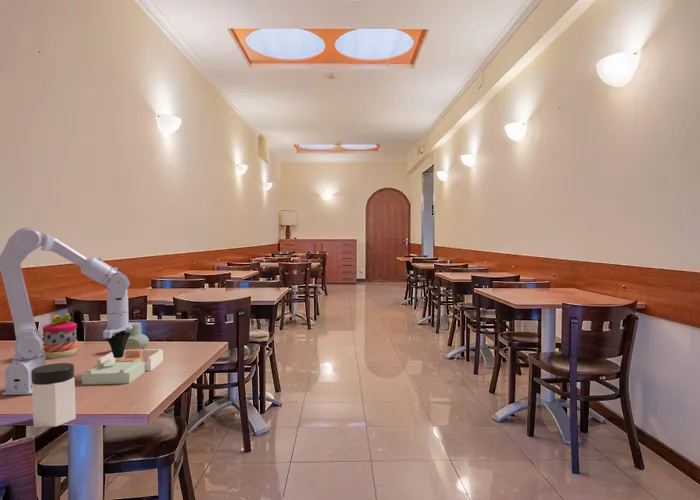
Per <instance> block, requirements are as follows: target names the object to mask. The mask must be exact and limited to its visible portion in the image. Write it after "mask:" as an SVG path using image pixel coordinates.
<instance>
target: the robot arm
mask: <svg viewBox="0 0 700 500" xmlns="http://www.w3.org/2000/svg"><path fill="white" fill-rule="evenodd" d="M40 247H41V248H40ZM38 248H40V251H45V252H53V253H54V254H57V255H59V256H60V257H62V258H64V259H65V260H67V261H70V262H71V263H72V264H73V263H74V264H75V265H77V266H79V268H80V273H81V274H83V275H85V276H86V277H88V278H90V279H91V280H93V281H95V282H97V283H98V284H101V285H105V287H106V288H107V296H106V318H107V319H106V325H107V326H106V329H105V330H103V331H102V338H103V339H106V342H108V344H109V345H110V348H111V352H112V353H113V356H114V358H121V357H123V354H124V350H125V346H126V342H127V340H128V338H129V336H130V332H125V330H128V329H132V328H133V326H132V325H131V323H132V322H129V296H128V293H129V291H128V288H129V286H130V284H131V282H130V281H129V278H128V276H127V275H125V273H123V272H121V271H119V270H118V268H117V267H115V266H114V267H112V266H111V265H109V264H107V263H106V262H105V261H104V259H103V258H102V257H96V256H89V257H87V256H85V255H83V254H81V253H80V252H78V251H77V250H75V249H74V248H72V247H71V246H69V245H67V244H66V243H64V242H62V241H61V240H59V239H58V238H56V237H53V236H51V235H49V234H46V233H44V232H41V233H40V231H39V230H37V229H36V228H33V227H27V226H25V227H21V228H19V229H18V230H16V232H14V233H13V234H12V235H11V236H10V237H9V238H8V240H7V242H6V243H5V246H4V248H3V249H2V252H1V254H0V274H1V278H2V283H3V285H4V286H3V287H4V290H5V295H6V299H7V302H8V306H9V310H10V315H11V318H12V322H13V326H14V327H13V328H14V334H15V343H14V344H13V345H14V346H13V348H14V352H15V354H14V355H13V357H12V358H13V359H12V362H11V363H10V364H8V366H7V367H6V368H5V371H4V376H5V377H4V378H5V380H4V381H5V385H4V387H5V391H4V392H2V396H14V395H15V396H16V395H19V396H20V395H32V381H31V371H32V370H33V369H34V368H37V367H40V366H44V365H47V364H46V358H45V352H44V350H43V348H44V346H43V344H44V341H43V337H44V336H43V333H41V332H40V331H39V330H38V329H37V325H36V322H35V318H34V315H33V311H32V306H31V303H30V302H31V301H30V299H29V295H28V291H27V286H26V283H25V282H26V281H25V277H24V274H23V270H22V265H21V264H22V263H23V262H24V260H25V259H26V258H27V257H28V255H29V254H31V253H32V252H33V251H35V250H37V249H38Z"/></svg>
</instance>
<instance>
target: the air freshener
mask: <svg viewBox="0 0 700 500" xmlns="http://www.w3.org/2000/svg"><path fill="white" fill-rule="evenodd" d="M130 323H131V325H132V326H133V328H132V329H128V330H125V332H130V336H129V338H128V340H127V342H126V346H125V350H128V349H143V350H145V348H147V346H148V345H149V343H150V339H149V337H148V336H147V335H146V334H143V333H142V324H141V322H138V321H135V322H130Z"/></svg>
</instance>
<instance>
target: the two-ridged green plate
mask: <svg viewBox="0 0 700 500" xmlns="http://www.w3.org/2000/svg"><path fill="white" fill-rule="evenodd" d="M145 372H147V371H146V362H141V359H136V360H135V361H133V362H111V360H106V361H104V362H102V363H100V364H98V365H95V366H93V367H91V368H89V369H88V370H87V371H85V372H82V373H81V385H84V386H85V385H108V384H109V385H111V384H113V385H114V384H115V385H116V384H120V385H121V384H131V383H132V382H133V381H135V380H136V379H137V378H139V377H140V376H141V375H143V374H145Z"/></svg>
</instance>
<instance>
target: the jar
mask: <svg viewBox="0 0 700 500" xmlns="http://www.w3.org/2000/svg"><path fill="white" fill-rule="evenodd" d="M31 381H32V394H31V396H32V424H33V428H35V429H37V428H55V427H59V426H61V425H64V424H66V423H69V422H71V421H75V419H76V385H75V383H76V382H75V381H76V380H75V365H74V364H73V363H72V362H71V363H70V362H61V363H60V362H59V363H56V362H55V363H51V364H46V365H44V366H40V367H37V368H34V369H33V370H32V371H31Z"/></svg>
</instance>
